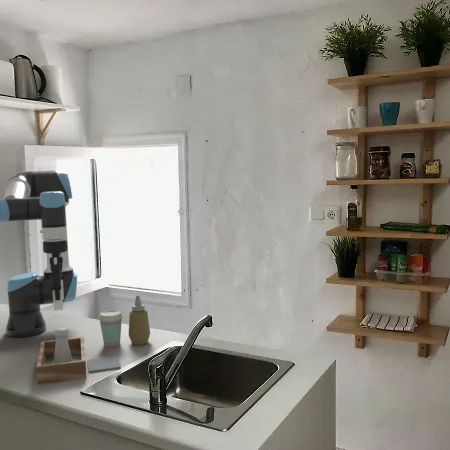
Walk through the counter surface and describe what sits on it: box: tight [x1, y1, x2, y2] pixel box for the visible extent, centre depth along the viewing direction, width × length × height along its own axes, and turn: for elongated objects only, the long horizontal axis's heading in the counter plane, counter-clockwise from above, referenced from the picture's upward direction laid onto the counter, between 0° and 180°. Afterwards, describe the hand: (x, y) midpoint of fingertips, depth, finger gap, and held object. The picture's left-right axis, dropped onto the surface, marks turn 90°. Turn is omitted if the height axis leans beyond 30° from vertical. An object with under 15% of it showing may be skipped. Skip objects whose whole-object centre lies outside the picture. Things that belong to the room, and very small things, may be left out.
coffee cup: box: [98, 309, 123, 348], centre depth 185 cm, size 8×8×12 cm
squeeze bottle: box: [128, 294, 151, 346], centre depth 186 cm, size 8×8×18 cm
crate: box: [35, 336, 88, 385], centre depth 165 cm, size 24×14×6 cm, turn 17°
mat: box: [87, 355, 121, 373], centre depth 166 cm, size 10×10×1 cm
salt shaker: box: [53, 327, 73, 364], centre depth 165 cm, size 6×6×13 cm
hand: (59, 304), depth 163 cm, fingers open, 13 cm apart
